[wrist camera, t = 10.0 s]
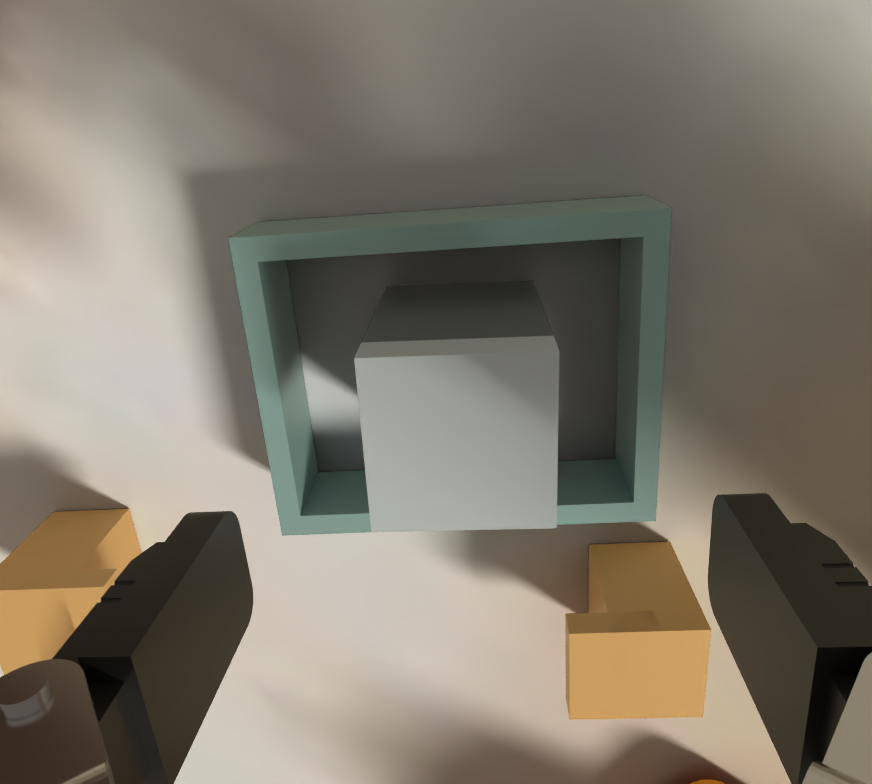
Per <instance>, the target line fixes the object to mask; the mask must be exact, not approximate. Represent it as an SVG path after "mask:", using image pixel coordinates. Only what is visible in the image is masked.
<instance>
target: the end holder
mask: <svg viewBox="0 0 872 784" xmlns="http://www.w3.org/2000/svg"><path fill="white" fill-rule="evenodd" d="M671 213H672V208H671V207H669V206H667V205H665V204H663V203H660V202H658V201H656V200H654V199H652V198H650V197H648V196H646V195H642V196H628V197H613V198H599V199H584V200H570V201H555V202H541V203H527V204H512V205H498V206H483V207H469V208H454V209H440V210H425V211H411V212H397V213H382V214H368V215H353V216H339V217H324V218H310V219H295V220H281V221H266V222H257V223H255V224H253V225H252V226H250V227H248V228H246V229H244V230H242V231H240V232H239V233H237V234H235V235H233V236H231V237H229V238H228V240H229V245H230V251H231V256H232V262H233V267H234V273H235V278H236V284H237V289H238V295H239V300H240V306H241V311H242V317H243V322H244V328H245V333H246V339H247V344H248V350H249V355H250V361H251V366H252V372H253V377H254V383H255V388H256V394H257V399H258V405H259V410H260V416H261V421H262V427H263V432H264V438H265V443H266V449H267V454H268V460H269V466H270V471H271V477H272V482H273V488H274V493H275V499H276V504H277V510H278V515H279V521H280V526H281V532H282V535H308V534H333V533H359V532H371V524H370V514H369V504H368V494H367V484H366V474H365V470H356V471H334V472H318V467H317V460H316V453H315V447H314V440H313V434H312V427H311V421H310V414H309V408H308V401H307V395H306V388H305V382H304V375H303V368H302V362H301V355H300V349H299V342H298V336H297V329H296V323H295V316H294V310H293V303H292V297H291V290H290V284H289V277H288V270H287V264H286V260H295V259H310V258H325V257H341V256H356V255H371V254H387V253H402V252H417V251H432V250H448V249H463V248H478V247H494V246H509V245H524V244H539V243H555V242H570V241H585V240H601V239H616V238H621V256H620V295H619V335H618V375H617V415H616V454H615V459H601V460H579V461H558V477H557V525H565V524H590V523H616V522H642V521H656V507H657V487H658V468H659V448H660V429H661V409H662V390H663V370H664V350H665V331H666V311H667V292H668V272H669V253H670V233H671Z"/></svg>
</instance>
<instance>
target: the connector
mask: <svg viewBox="0 0 872 784" xmlns="http://www.w3.org/2000/svg"><path fill="white" fill-rule="evenodd" d="M354 363H355V373H356V383H357V394H358V404H359V414H360V424H361V434H362V444H363V454H364V464H365V474H366V484H367V494H368V504H369V514H370V524H371V532H402V531H451V530H500V529H550V528H557V477H558V413H559V349H558V346H557V343H556V341H555V338H554V336H553V333H552V330H551V328H550V325H549V322H548V320H547V317H546V315H545V312H544V309H543V307H542V304H541V301H540V299H539V296H538V294H537V291H536V288H535V286H534V283H533V281H518V282H494V283H469V284H444V285H419V286H394V287H386V289H385V291H384V294H383V296H382V298H381V300H380V302H379V305H378V307H377V309H376V311H375V313H374V315H373V318H372V320H371V322H370V324H369V326H368V329H367V331H366V333H365V335H364V337H363V340H362V342H361V344H360V346H359V348H358V351H357V353H356V355H355V357H354Z"/></svg>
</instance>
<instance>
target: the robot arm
mask: <svg viewBox="0 0 872 784" xmlns="http://www.w3.org/2000/svg"><path fill="white" fill-rule="evenodd" d="M708 589H709V597H710V602H711V606H712V610H713V613H714V616H715V618H716V620H717V623H718V625H719V627H720V629H721V631H722V633H723V636H724V638H725V640H726V642H727V644H728V646H729V649H730V651H731V653H732V655H733V657H734V659H735V662H736V664H737V666H738V668H739V670H740V673H741V675H742V677H743V679H744V681H745V683H746V686H747V688H748V690H749V692H750V694H751V696H752V699H753V701H754V703H755V705H756V707H757V710H758V712H759V714H760V716H761V718H762V720H763V723H764V725H765V727H766V729H767V731H768V733H769V736H770V738H771V740H772V742H773V744H774V747H775V749H776V751H777V753H778V755H779V757H780V760H781V762H782V764H783V766H784V768H785V770H786V773H787V775H788V777H789V779H790V781H791V784H872V586H869V585H868V581H867V579H866V578H865V577H864V576H863V575H862V573H861V572H860V571H859V570H858V569H857V567H853V563H852V561H851V560H850V559H849V558H848V556H847V555H846V554H845V553H844V552H843V550H842V549H841V548H840V547H839V546H838V544H837V543H836V542H835V541H834V540H832V539H830V538H829V537H827V536H826V535H824V534H822V533H821V532H819V531H818V530H816V529H814V528H813V527H811V526H810V525H808V524H806V523H792V524H791V523H790V522H789V521H788V519H787V518H786V517H785V515H784V514H783V513H782V511H781V510H780V509H779V507H778V506H777V505H776V504H775V502H774V501H773V500H772V498H771V497H770V496H769V495H768V494H766V493H759V494H731V495H717V496H716V498H715V500H714V504H713V511H712V525H711V539H710V554H709V568H708ZM252 608H253V588H252V582H251V577H250V573H249V568H248V563H247V558H246V553H245V549H244V544H243V539H242V534H241V529H240V525H239V521H238V518H237V516H236V515H235V513H233V512H232V511H221V512H193V513H188V514H186V515H185V516H184V517H183V519H182V520H181V521H180V523H179V524H178V525H177V527H176V528H175V529H174V530H173V532H172V533H171V534H170V536H169V537H168V538H167V540H166V541H165V542H157V543H155V544H154V545H153V546H151V547H150V548H148V549H147V550H145V551H144V552H143V553H141V554H140V555H138V556H137V557H135V558H134V559H133V560H131V561H130V563H129V564H128V565H127V566H126V567H125V569H124V570H123V571H122V572H121V574H120V575H119V576H118V577H117V579H116V580H115V584H114V585H111V586H110V587H109V589H108V590H107V591H106V592H105V594H104V595H103V596H102V597H101V602H100V603H96V605H95V606H94V607H93V608H92V610H91V611H90V612H89V613H88V615H87V616H86V617H85V618H84V620H83V621H82V622H81V623H80V625H79V626H78V627H77V628H76V630H75V631H74V632H73V633H72V635H71V636H70V637H69V638H68V639H67V641H66V642H65V643H64V644H63V646H62V647H61V648H60V649H59V651H58V652H57V653H56V654H55V656H54V657H53V658H52V659H49V660H43V661H38V662H35V663H31V664H28V665H25V666H23V667H20V668H18V669H16V670H13V671H11V672H9V673H8V674H6V675H4V676H2V677H0V784H174V781H175V779H176V777H177V775H178V773H179V771H180V769H181V767H182V765H183V762H184V760H185V758H186V756H187V754H188V752H189V750H190V748H191V745H192V743H193V741H194V739H195V737H196V735H197V733H198V731H199V728H200V726H201V724H202V722H203V720H204V718H205V716H206V714H207V711H208V709H209V707H210V705H211V703H212V701H213V699H214V697H215V694H216V692H217V690H218V688H219V686H220V684H221V682H222V680H223V677H224V675H225V673H226V671H227V669H228V667H229V665H230V663H231V660H232V658H233V656H234V654H235V652H236V650H237V648H238V646H239V644H240V641H241V639H242V637H243V635H244V633H245V631H246V629H247V627H248V624H249V622H250V618H251V614H252Z"/></svg>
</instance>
